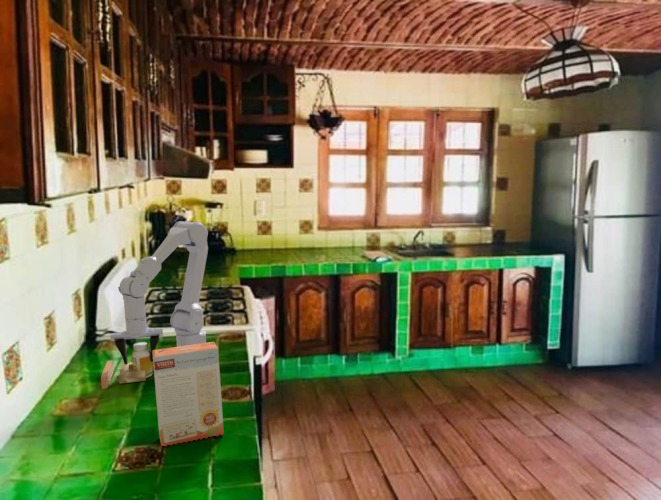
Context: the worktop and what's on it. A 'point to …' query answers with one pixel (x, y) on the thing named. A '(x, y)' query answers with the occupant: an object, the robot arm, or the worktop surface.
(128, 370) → the slot block
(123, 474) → the worktop surface
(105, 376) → the rail
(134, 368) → the supplement bottle
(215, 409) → the cracker box
